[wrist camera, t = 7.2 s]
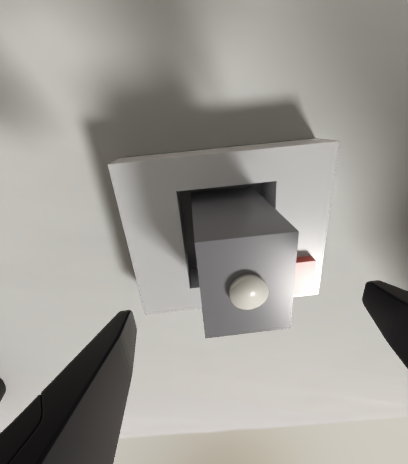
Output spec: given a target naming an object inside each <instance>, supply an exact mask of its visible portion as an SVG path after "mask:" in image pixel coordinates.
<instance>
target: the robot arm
mask: <svg viewBox="0 0 408 464" xmlns="http://www.w3.org/2000/svg"><path fill="white" fill-rule="evenodd" d="M362 301H363V304H364V306H365V307H366V309H367V311H368V312H369V314H370V315H371V317H372V319H373V320H374V322H375V323H376V325H377V327H378V328H379V330H380V331H381V333H382V335H383V336H384V338H385V339H386V341H387V342H388V343H389V345H390V346H391V348H392V349H393V350H394V351H395V353H396V354H397V355H398V357H399V358H400V359H401V361H402V362H403V363H404V365H405V366H406V367H407V369H408V291H406V290H403V289H400V288H398V287H395V286H393V285H390V284H387V283H385V282H382V281H379V280H376V281H369V282H367V283H366V285H365V289H364V293H363V297H362ZM136 333H137V328H136V324H135V320H134V316H133V313H132V311H131V310H126V311H120V312H119V313H118V314H117V315H116V316H115V317H114V318H113V319H112V320H111V321H110V322H109V323H108V324H107V325H106V326H105V327H104V328H103V329H102V330H101V331H100V332H99V333H98V334H97V335H96V336H95V337H94V339H93V340H92V341H91V342H90V343H89V344H88V345H87V346H86V347H85V348H84V349H83V350H82V351H81V352H80V353H79V354H78V355H77V356H76V357H75V358H74V359H73V360H72V361H71V362H70V363H69V364H68V365H67V366H66V367H65V368H64V370H63V371H62V372H61V373H60V374H59V375H58V376H57V377H56V378H55V379H54V380H53V381H52V382H51V383H50V384H49V385H48V386H47V387H46V388H45V389H44V390H43V391H42V393H41V395H38V396H37V397H36V398H35V399H34V400H33V401H32V403H31V404H30V405H29V406H28V407H27V408H26V409H25V410H24V411H23V412H22V413H21V414H20V415H19V416H18V417H17V418H16V419H15V420H14V421H13V422H12V423H11V424H10V425H9V426H8V427H7V428H5V429H4V430H3V431H2V432H1V433H0V464H113V462H114V457H115V452H116V447H117V443H118V438H119V434H120V429H121V424H122V420H123V415H124V410H125V406H126V401H127V396H128V392H129V387H130V382H131V377H132V371H133V362H134V353H135V343H136Z"/></svg>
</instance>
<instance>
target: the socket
mask: <svg viewBox="0 0 408 464" xmlns="http://www.w3.org/2000/svg"><path fill="white" fill-rule="evenodd" d="M339 142H340V141H335V140H326V139H317V138H314V139H304V140H294V141H284V142H274V143H264V144H254V145H244V146H234V147H225V148H215V149H205V150H195V151H185V152H175V153H165V154H155V155H145V156H135V157H125V158H119V159H117V160H115V161H113V162H111V163H109V164H108V169H109V173H110V177H111V181H112V185H113V189H114V193H115V197H116V201H117V205H118V209H119V213H120V217H121V221H122V225H123V229H124V233H125V237H126V241H127V244H128V248H129V252H130V256H131V260H132V264H133V268H134V272H135V276H136V280H137V284H138V288H139V292H140V296H141V300H142V304H143V308H144V312H145V315H148V314H157V313H165V312H173V311H182V310H190V309H199V308H202V303H201V294H200V286H199V277H198V268H197V259H196V251H195V242H194V229H193V216H192V203H191V193H199V192H208V191H218V190H228V189H238V188H248V187H253V188H254V189H255V190H256V191H257V192H258V193H259V194H260V195H261V196H262V197H263V198H264V199H265V200H267V201H268V202H269V203H270V204H271V205H272V206H273V207H274V208H275V209H276V210H277V211H278V212H279V213H280V214H281V215H282V216H283V217H284V218H285V219H286V220H288V221H289V222H290V223H291V224H292V225H293V226H294V227H295V228H296V229H297V230H298V231H299V236H298V248H297V259H296V270H295V281H294V293H293V297H300V296H308V295H317V294H318V292H319V285H320V278H321V271H322V263H323V256H324V249H325V242H326V235H327V228H328V220H329V213H330V206H331V199H332V192H333V185H334V177H335V170H336V163H337V156H338V149H339Z"/></svg>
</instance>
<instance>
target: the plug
mask: <svg viewBox="0 0 408 464" xmlns="http://www.w3.org/2000/svg"><path fill="white" fill-rule="evenodd" d="M191 203H192V216H193V229H194V242H195V251H196V259H197V268H198V277H199V286H200V294H201V303H202V312H203V321H204V330H205V338H212V337H220V336H228V335H237V334H245V333H253V332H262V331H270V330H278V329H287V328H290V326H291V315H292V304H293V293H294V281H295V270H296V259H297V248H298V236H299V231H298V230H297V229H296V228H295V227H294V226H293V225H292V224H291V223H290V222H289V221H288V220H286V219H285V218H284V217H283V216H282V215H281V214H280V213H279V212H278V211H277V210H276V209H275V208H274V207H273V206H272V205H271V204H270V203H269V202H268V201H267V200H265V199H264V198H263V197H262V196H261V195H260V194H259V193H258V192H257V191H256V190H255V189H254V188H253V187H248V188H238V189H228V190H218V191H208V192H199V193H191Z"/></svg>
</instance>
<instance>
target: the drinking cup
mask: <svg viewBox="0 0 408 464" xmlns="http://www.w3.org/2000/svg"><path fill="white" fill-rule="evenodd" d="M5 391H6V387H5V384H4V383H3V381H2V380H1V379H0V401H1V399H2V398H3V396H4V394H5Z"/></svg>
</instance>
